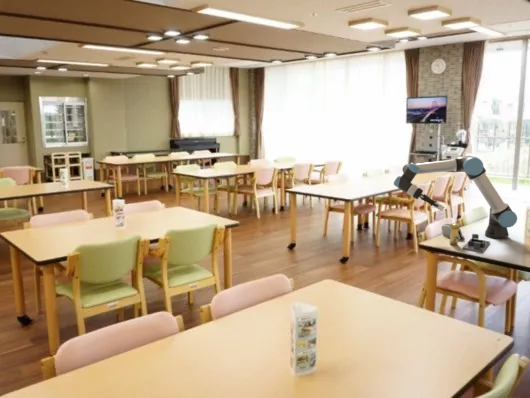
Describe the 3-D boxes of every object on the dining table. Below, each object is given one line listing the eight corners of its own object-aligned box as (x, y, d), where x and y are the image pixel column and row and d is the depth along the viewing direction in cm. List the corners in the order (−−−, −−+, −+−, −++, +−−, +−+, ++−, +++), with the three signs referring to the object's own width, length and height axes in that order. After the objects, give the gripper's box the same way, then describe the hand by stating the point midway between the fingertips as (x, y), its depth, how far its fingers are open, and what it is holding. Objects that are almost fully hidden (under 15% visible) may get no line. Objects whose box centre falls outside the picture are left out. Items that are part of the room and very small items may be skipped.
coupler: (457, 243, 320) (459, 223, 318) (459, 246, 315) (461, 225, 313) (447, 243, 321) (449, 223, 319) (449, 245, 316) (451, 225, 313)
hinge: (465, 239, 333) (462, 226, 331) (459, 241, 332) (457, 228, 329) (447, 233, 349) (445, 221, 346) (442, 236, 347) (439, 223, 345)
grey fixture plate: (470, 240, 330) (471, 233, 329) (489, 243, 323) (490, 235, 322) (462, 249, 307) (463, 241, 306) (482, 252, 301) (483, 244, 300)
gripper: (414, 196, 342) (440, 213, 335) (410, 196, 319) (438, 214, 312) (420, 187, 340) (447, 204, 333) (416, 186, 317) (445, 204, 310)
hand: (443, 209), depth 323 cm, fingers open, 13 cm apart
